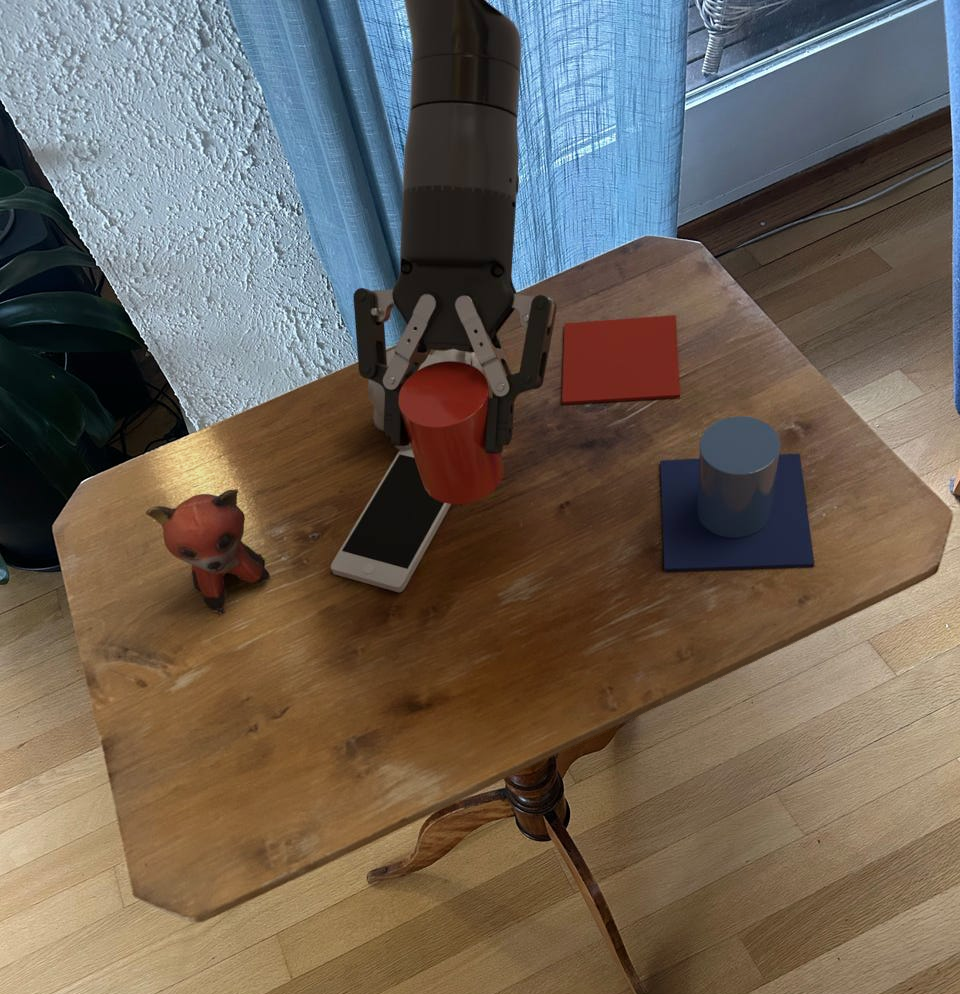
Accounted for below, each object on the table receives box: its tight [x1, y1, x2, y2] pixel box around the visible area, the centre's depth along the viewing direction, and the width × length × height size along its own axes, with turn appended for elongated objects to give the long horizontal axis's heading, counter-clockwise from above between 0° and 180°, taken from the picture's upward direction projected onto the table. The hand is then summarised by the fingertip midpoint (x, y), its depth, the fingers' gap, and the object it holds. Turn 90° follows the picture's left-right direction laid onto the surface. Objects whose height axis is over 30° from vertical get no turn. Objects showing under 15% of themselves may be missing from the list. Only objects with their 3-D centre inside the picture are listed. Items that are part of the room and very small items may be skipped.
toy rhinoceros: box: [367, 347, 484, 451], centre depth 96 cm, size 7×12×8 cm, turn 121°
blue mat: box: [660, 453, 815, 572], centre depth 87 cm, size 12×12×1 cm
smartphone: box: [330, 449, 452, 593], centre depth 92 cm, size 7×15×1 cm, turn 156°
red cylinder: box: [398, 361, 505, 505], centre depth 73 cm, size 6×6×8 cm
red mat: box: [561, 314, 681, 406], centre depth 99 cm, size 11×11×1 cm
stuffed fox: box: [145, 488, 271, 615], centre depth 88 cm, size 8×11×12 cm
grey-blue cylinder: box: [697, 415, 781, 538], centre depth 84 cm, size 6×6×8 cm
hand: (446, 448), depth 71 cm, fingers closed on red cylinder, 6 cm apart
